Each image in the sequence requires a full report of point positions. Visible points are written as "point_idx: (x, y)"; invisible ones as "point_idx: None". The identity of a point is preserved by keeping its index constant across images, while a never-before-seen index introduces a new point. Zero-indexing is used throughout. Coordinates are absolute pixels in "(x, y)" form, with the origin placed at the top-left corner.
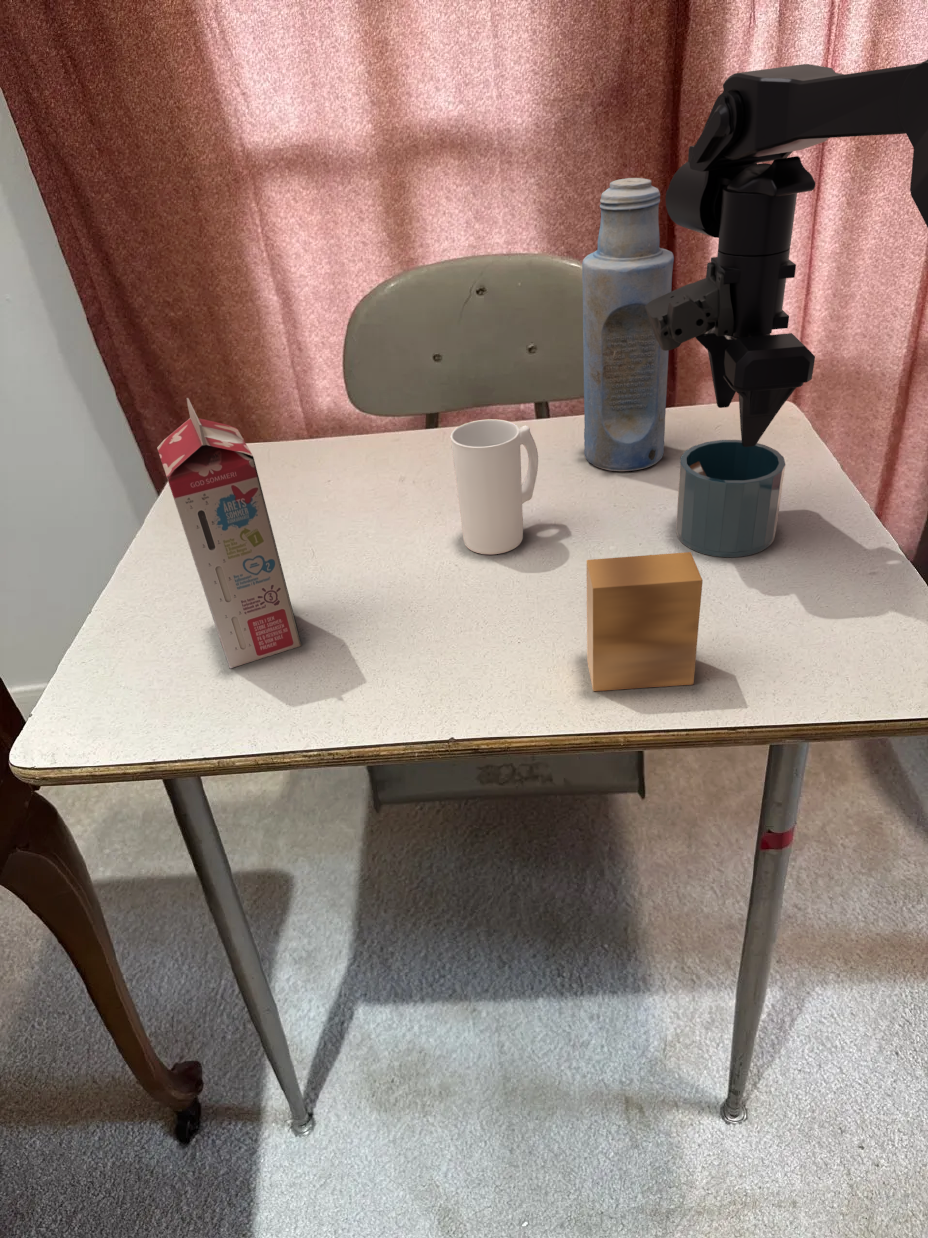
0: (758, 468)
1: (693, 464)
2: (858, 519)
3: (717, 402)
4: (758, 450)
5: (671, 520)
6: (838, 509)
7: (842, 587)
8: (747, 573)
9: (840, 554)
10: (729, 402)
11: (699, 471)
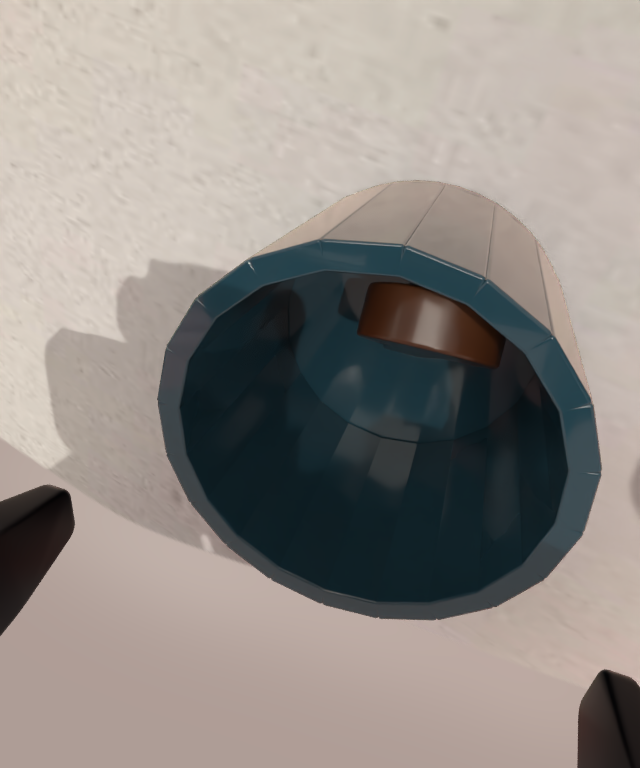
0: (442, 535)
1: (447, 322)
2: None
3: (612, 696)
4: (440, 585)
5: (558, 205)
6: None
7: (138, 429)
8: None
9: None
10: (580, 735)
11: (380, 319)
